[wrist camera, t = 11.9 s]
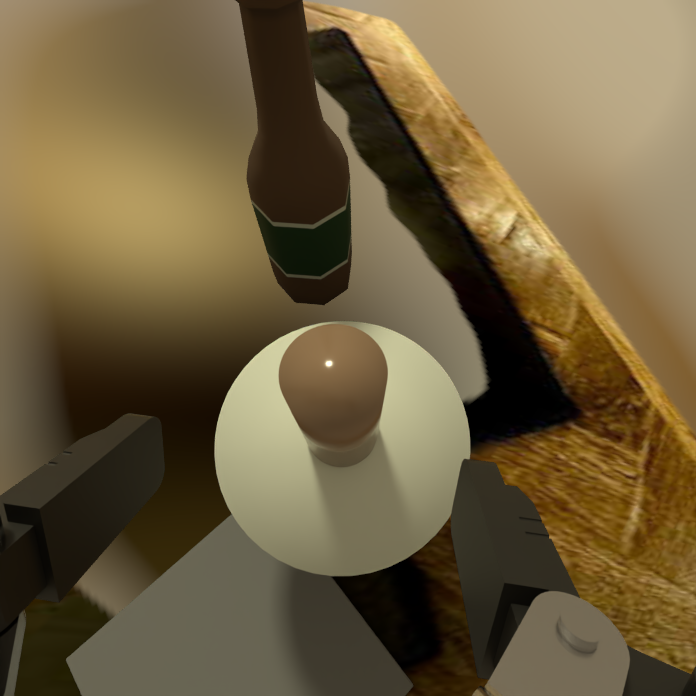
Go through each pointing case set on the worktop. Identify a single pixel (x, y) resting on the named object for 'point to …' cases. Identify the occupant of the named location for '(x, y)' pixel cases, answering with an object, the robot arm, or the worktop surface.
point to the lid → (341, 448)
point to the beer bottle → (295, 158)
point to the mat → (237, 633)
